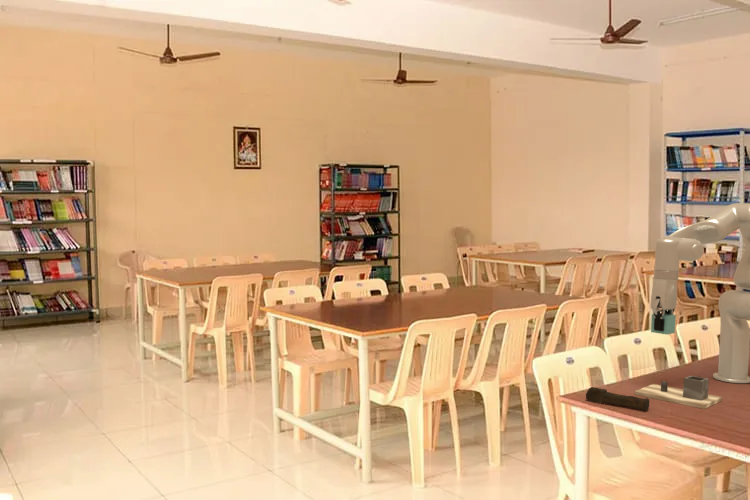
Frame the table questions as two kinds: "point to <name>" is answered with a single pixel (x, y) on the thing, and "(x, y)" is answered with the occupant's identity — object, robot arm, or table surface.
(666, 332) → the teal wall cubby
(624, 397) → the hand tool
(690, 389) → the seat plate
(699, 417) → the table surface
